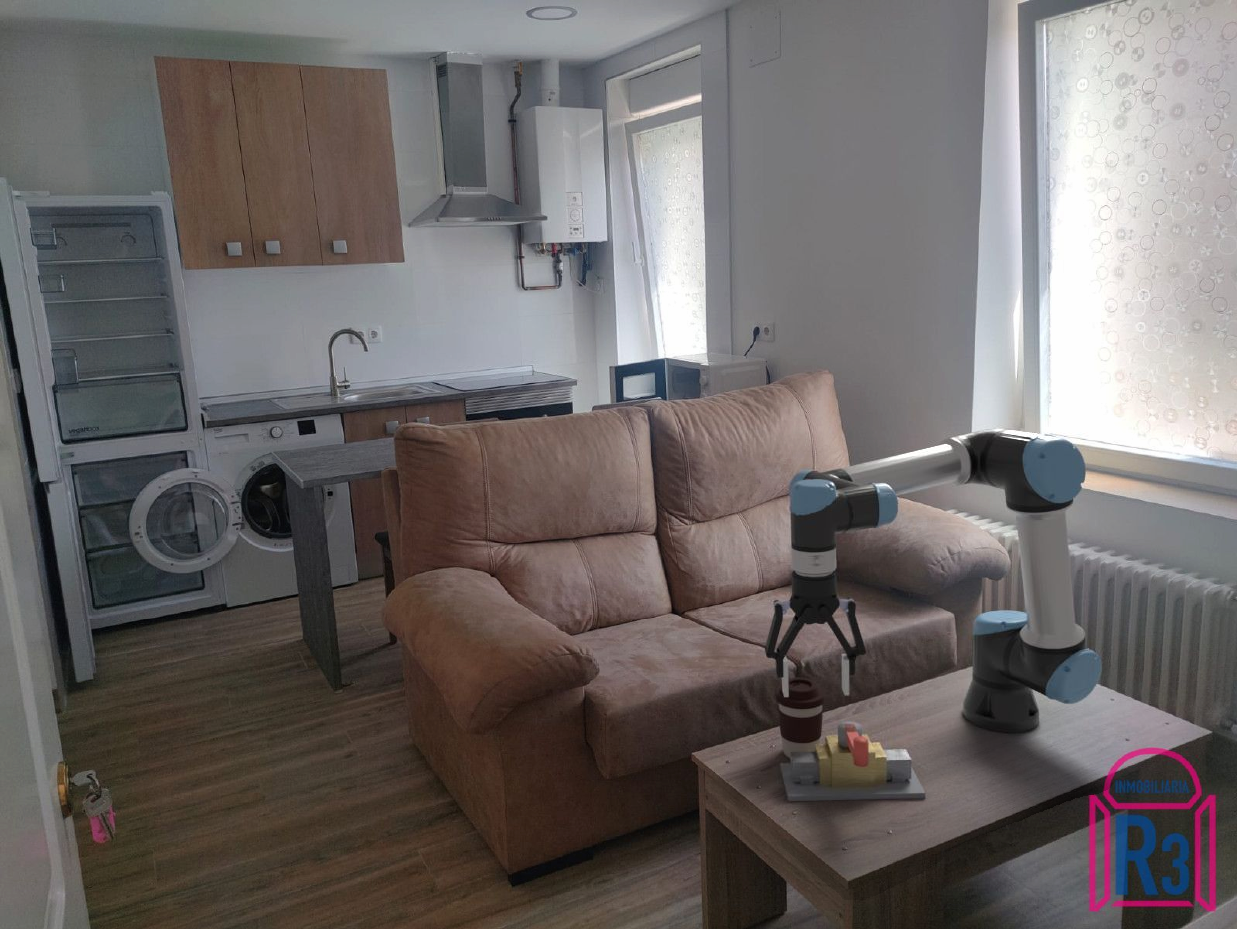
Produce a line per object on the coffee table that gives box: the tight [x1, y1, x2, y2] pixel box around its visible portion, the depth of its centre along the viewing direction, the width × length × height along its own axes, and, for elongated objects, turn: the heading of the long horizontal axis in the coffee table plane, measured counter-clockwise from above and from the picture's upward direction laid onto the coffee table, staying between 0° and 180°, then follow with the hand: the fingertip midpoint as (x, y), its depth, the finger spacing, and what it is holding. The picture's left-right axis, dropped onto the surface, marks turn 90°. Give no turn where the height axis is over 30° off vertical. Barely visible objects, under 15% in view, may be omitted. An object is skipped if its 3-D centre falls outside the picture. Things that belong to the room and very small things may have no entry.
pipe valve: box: [789, 733, 912, 788], centre depth 176 cm, size 22×7×7 cm, turn 87°
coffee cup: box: [774, 677, 826, 759], centre depth 187 cm, size 10×10×15 cm
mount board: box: [779, 762, 926, 802], centre depth 176 cm, size 25×12×1 cm, turn 87°
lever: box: [837, 720, 869, 767], centre depth 170 cm, size 14×4×6 cm, turn 177°
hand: (815, 692), depth 162 cm, fingers open, 10 cm apart
